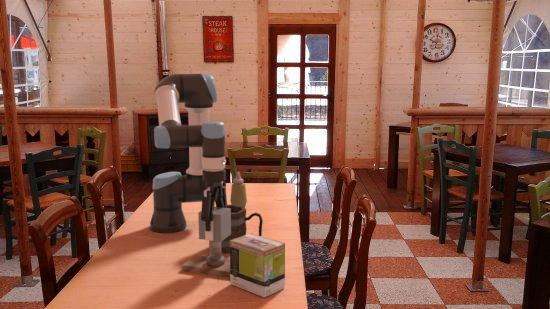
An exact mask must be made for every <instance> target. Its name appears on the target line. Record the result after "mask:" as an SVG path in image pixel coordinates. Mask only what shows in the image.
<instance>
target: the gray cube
mask: <svg viewBox="0 0 550 309" xmlns="http://www.w3.org/2000/svg"><path fill="white" fill-rule="evenodd" d="M201 211H202V210H200V211H199V212H198V213H197V214H198V215H197V216H198V240H204V241H206V240H205V221H201ZM212 221H213V229H214V240H213V241H220V242H221V241H223V240H224V239H225V238H227V237H228V236H229V235H230V234H231V208H221V207H216V206H214V210H213V217H212Z"/></svg>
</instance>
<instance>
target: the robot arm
mask: <svg viewBox="0 0 550 309" xmlns="http://www.w3.org/2000/svg"><path fill="white" fill-rule="evenodd" d="M153 98H154V102H155V103H156V105H157V116H158V117H157V118H158V125H157V126H155V127H154V129H153V130H154V131H153V132H154V133H153V134H154V147H156V148H157V149H166V150H167V149H180V148H181V149H182V148H189V150H188V152H189V154H188V155H189V156H188V157H189V166H188V168H187V169H186V170H185V174H184V175H182V173H181V172H180V171H168V172H163V173H160V174H157V175H155V177H153V179H152V187H151V188H152V193H153V196H152V197H153V198H152V199H153V212H152V216H151V220H150V224H149V228H150V230H151V231H152V232H155V233H163V234H164V233H165V234H166V233H176V232H180V231H182V230H185V229H186V228H187V219H186V216H185V214H184V211H183V207H182V206H183V205H182V204H183V203H184V204H185V203H201V210H200V211H201V221H205V240H204V241H209V240H210V241H213V240H214V229H213V221H212V217H213V210H214V207H221V208H227V205H228V200H227V183H226V182H225V181H226V180H227V179H226V163H227V159H226V129H225V128H226V126H225V123H224V122H223V121H219V120H217V121H216V120H214V121H213V120H211V121H210V111H211V110H212V109H213V108H214V104H215V103H217V101H218V94H217V88H216V82H215V78H214V77H213V75H211V74H210V73H209V74H208V73H173V74H169V75H167V76H165V77H163V79H161V80H160V81H159V82H158V83H157V84H156V85H155V88H154V91H153ZM179 103H180V104H184V108H185V110H187V113H188V125H187V124H185V125H182V121H181V116H180V110H179V109H180V108H179ZM224 205H225V206H224Z"/></svg>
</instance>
